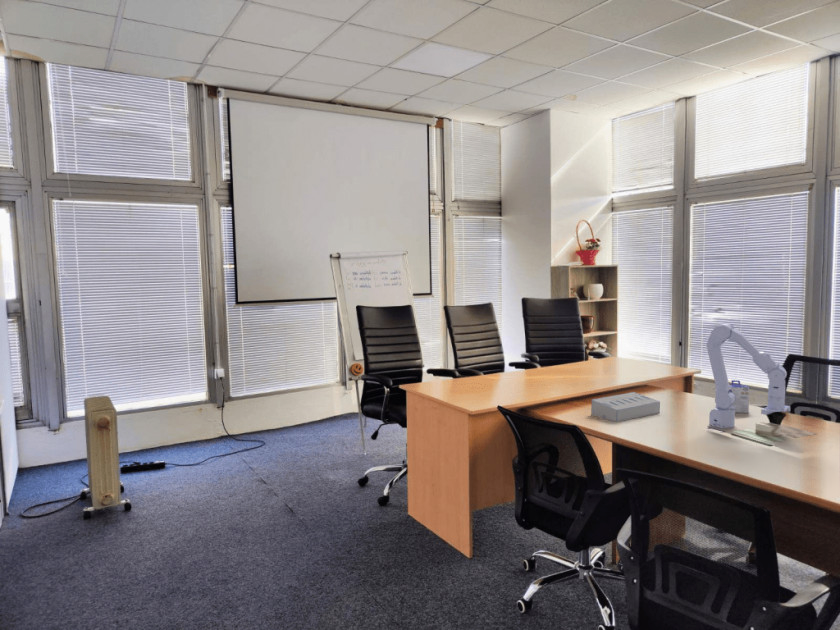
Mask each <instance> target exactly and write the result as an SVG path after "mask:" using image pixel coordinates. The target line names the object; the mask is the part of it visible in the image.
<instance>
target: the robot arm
mask: <svg viewBox="0 0 840 630" xmlns="http://www.w3.org/2000/svg"><path fill="white" fill-rule="evenodd" d="M726 341H727V342H732V343H734V344H735V343H736V344H737V345H739V347H741V348H742V349H743V350H745V352H747V354H749V355H750V356H751V357H752V362H753V364H755V365H756V366H757V367H758V368H759V369H760V370H761V371H762V372H763V373H764V374H767V379H768V387H767V388H768V389H767V406H766V407H763V408H761V409H760V414H761V415H764V416H766V417H767V419H768V422H770V423H774V424H778V425H782V422H783V421H784V419H785V417H786V416H787V414H786V412H791V406H789V405H786V403H785V402H786V378H787V375H788V372H787V371H786V368H785V367H784V366H782V365H781V364H780V363H779V362H778V363H777V362H776V361H775V360H774V359H773V358H772V357H771V353H766V352H765V351H760V350H758V348H757V347H755V345H753V344H752V343H751V341H750V340H749V339H748V338H747V337H746V336H745V335H744V334H743V333H742V332H741V331H740V330H738V329H737V328H735V327H734V326H733V324H731V323H727V322H725V323H722V324H718V325H716V326H715V327H714V328H713V329H712V330H711V332H710V335H709V337H708V339H707V342H706V349H707V353H708V358H709V362H710V366H711V371H712V375H713V379H714V384H715V391H714V393H715V398H714V403H715V407H714V408H713V409H711V410H710V412H709V420H708V421H709V424H708V425H707V428H710V429H712V430H715V431H716V430H717V431H720V432H722V433H723V432H724V433H725V432H726V431H725V430H723V429H726V428H734V427H735V420H736V419H735V418H736V412H735V406H734V405H733V403H734V402H735V401H736V395H735V394H734V392H733V391H732V389H731V386H730V385H731V384H730V381H729V379H728V374H727V370H726V365H725V361H724V356H723V353H722V348H721V347H722V346H723V344H725V343H726ZM718 428H719V429H718Z"/></svg>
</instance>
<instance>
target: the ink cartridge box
mask: <svg viewBox="0 0 840 630" xmlns="http://www.w3.org/2000/svg"><path fill="white" fill-rule="evenodd" d="M729 385H730V386H731V389H732V391H733V392H734V394H735V395H736V401H735V402H734V403H733V405H734V406H735V413H740V414H742V413H743V414H744V413H746V414H748V413H749V410H750V409H749V408H750V387H749V386H748V385H745V384H744V385H743V384H742V385H741V381H740V380H735V379H734V380H733V379H731V384H729Z"/></svg>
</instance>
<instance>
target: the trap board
mask: <svg viewBox="0 0 840 630" xmlns="http://www.w3.org/2000/svg"><path fill="white" fill-rule="evenodd" d="M731 432H732V433H731V436H733V437H736V438H740V439H744V440H747V441H750V442H754V443H756V444H759V445H764V446H767V447H774V445H772V444H770V443H775V442H781V441H786V439H784V438H781V437H780V436H787V437H791V438H796V439H799V438H803V437H804V438H805V437H808V436H809V437H810V436H815V435H818V433H816V432H812V431H807V430H804V429H800V428H796V427H792V426H789V425H784V424H781V428H780V435H779V436H773V437H768V436H764V435H761V434H757V433H755V430H751V429H749V428H746V429H739V430H733V431H732V430H731ZM738 434H739V435H738Z"/></svg>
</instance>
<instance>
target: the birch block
mask: <svg viewBox="0 0 840 630" xmlns="http://www.w3.org/2000/svg"><path fill="white" fill-rule="evenodd" d="M781 425H782V424H781ZM781 425H778V424H774V423H770V422H769V421H762V422H756V423H755V430H754V431H755V433H757V434H761V435H764V436H768V437H773V436H775V437H780V436H779V435H780V428H781Z"/></svg>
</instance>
